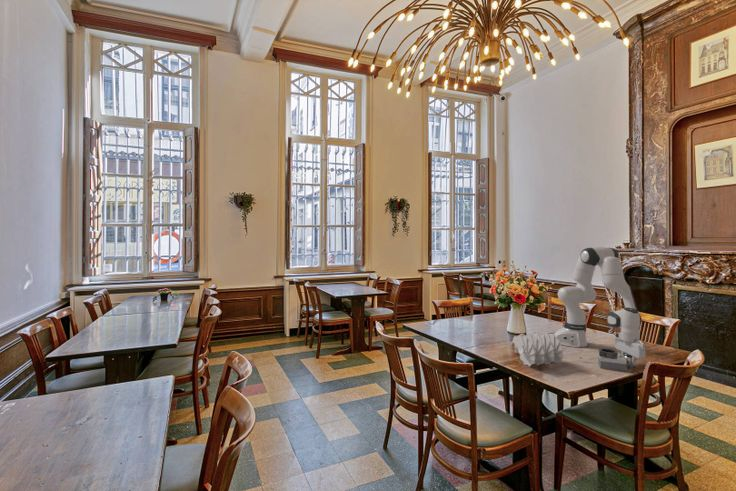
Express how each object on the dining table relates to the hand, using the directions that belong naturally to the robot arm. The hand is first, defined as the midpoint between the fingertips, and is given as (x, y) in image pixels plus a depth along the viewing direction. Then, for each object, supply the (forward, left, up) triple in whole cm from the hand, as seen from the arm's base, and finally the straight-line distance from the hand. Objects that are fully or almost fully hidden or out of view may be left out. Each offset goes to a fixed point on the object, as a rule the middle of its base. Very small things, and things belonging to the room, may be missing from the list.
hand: (629, 361), depth 214 cm
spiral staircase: (-46, -18, -3) cm, 50 cm away
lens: (0, 0, -3) cm, 3 cm away
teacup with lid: (-57, -1, -3) cm, 57 cm away
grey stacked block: (-9, -6, -3) cm, 11 cm away
